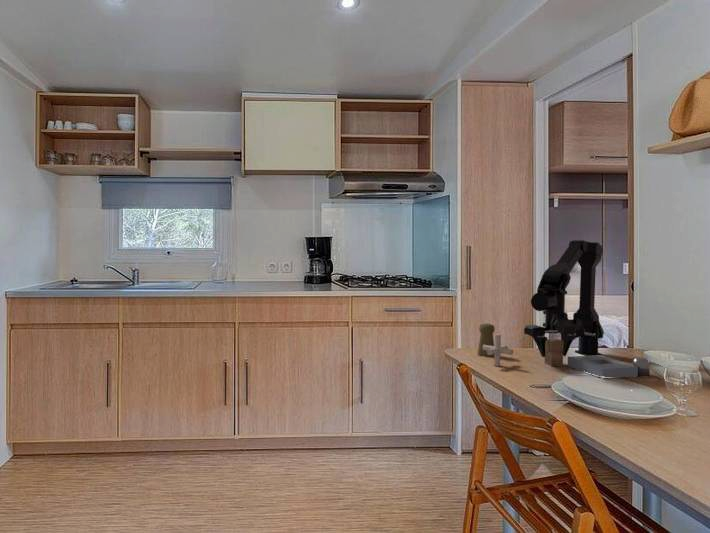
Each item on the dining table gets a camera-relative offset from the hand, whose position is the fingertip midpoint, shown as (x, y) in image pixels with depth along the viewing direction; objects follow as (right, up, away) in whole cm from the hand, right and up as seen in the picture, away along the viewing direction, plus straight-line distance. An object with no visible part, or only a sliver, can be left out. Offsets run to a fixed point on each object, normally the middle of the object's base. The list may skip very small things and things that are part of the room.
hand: (553, 356), depth 165 cm
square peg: (0, -3, 0) cm, 3 cm away
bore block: (+11, -3, -9) cm, 14 cm away
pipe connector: (-19, -3, -2) cm, 19 cm away
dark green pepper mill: (-18, -2, +13) cm, 23 cm away
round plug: (+21, -3, -12) cm, 25 cm away
